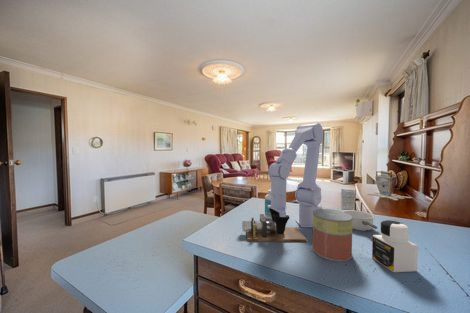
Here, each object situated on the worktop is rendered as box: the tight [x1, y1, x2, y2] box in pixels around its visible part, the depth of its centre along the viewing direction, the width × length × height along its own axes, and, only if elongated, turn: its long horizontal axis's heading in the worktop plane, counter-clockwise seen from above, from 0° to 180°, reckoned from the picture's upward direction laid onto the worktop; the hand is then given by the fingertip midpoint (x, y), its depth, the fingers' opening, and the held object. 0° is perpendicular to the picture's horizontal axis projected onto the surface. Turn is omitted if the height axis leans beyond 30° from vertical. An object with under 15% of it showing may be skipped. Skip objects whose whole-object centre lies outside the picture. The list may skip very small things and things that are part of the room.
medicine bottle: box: [371, 219, 419, 273], centre depth 54 cm, size 7×7×12 cm
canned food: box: [312, 208, 353, 262], centre depth 61 cm, size 11×11×12 cm
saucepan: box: [342, 209, 378, 232], centre depth 77 cm, size 12×20×6 cm, turn 169°
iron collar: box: [259, 213, 268, 237], centre depth 73 cm, size 2×8×6 cm, turn 0°
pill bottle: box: [264, 188, 272, 221], centre depth 92 cm, size 8×7×14 cm
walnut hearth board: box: [246, 226, 308, 243], centre depth 73 cm, size 21×11×1 cm, turn 90°
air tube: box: [241, 220, 285, 233], centre depth 73 cm, size 16×5×5 cm, turn 90°
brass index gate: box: [251, 216, 257, 237], centre depth 73 cm, size 2×9×5 cm, turn 0°
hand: (278, 229), depth 73 cm, fingers open, 7 cm apart
